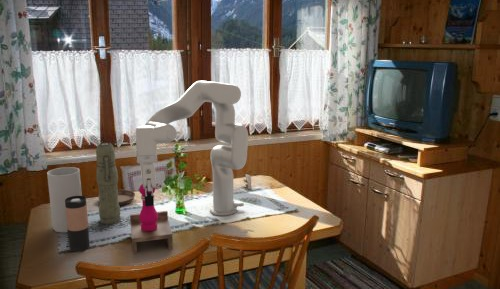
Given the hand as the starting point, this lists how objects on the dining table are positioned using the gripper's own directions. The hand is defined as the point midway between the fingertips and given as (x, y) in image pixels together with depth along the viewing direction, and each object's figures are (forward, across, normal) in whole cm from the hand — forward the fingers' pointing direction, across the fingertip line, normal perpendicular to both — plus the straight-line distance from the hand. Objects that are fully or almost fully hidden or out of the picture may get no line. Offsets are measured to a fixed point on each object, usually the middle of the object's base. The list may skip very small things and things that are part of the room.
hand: (148, 202), depth 174 cm
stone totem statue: (+17, +27, +16) cm, 36 cm away
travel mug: (+17, +2, +27) cm, 32 cm away
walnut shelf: (+17, 0, 0) cm, 17 cm away
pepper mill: (+11, -1, 0) cm, 11 cm away
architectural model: (+17, +54, -56) cm, 79 cm away
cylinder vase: (+17, +24, +33) cm, 44 cm away
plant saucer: (+17, +52, +13) cm, 56 cm away
